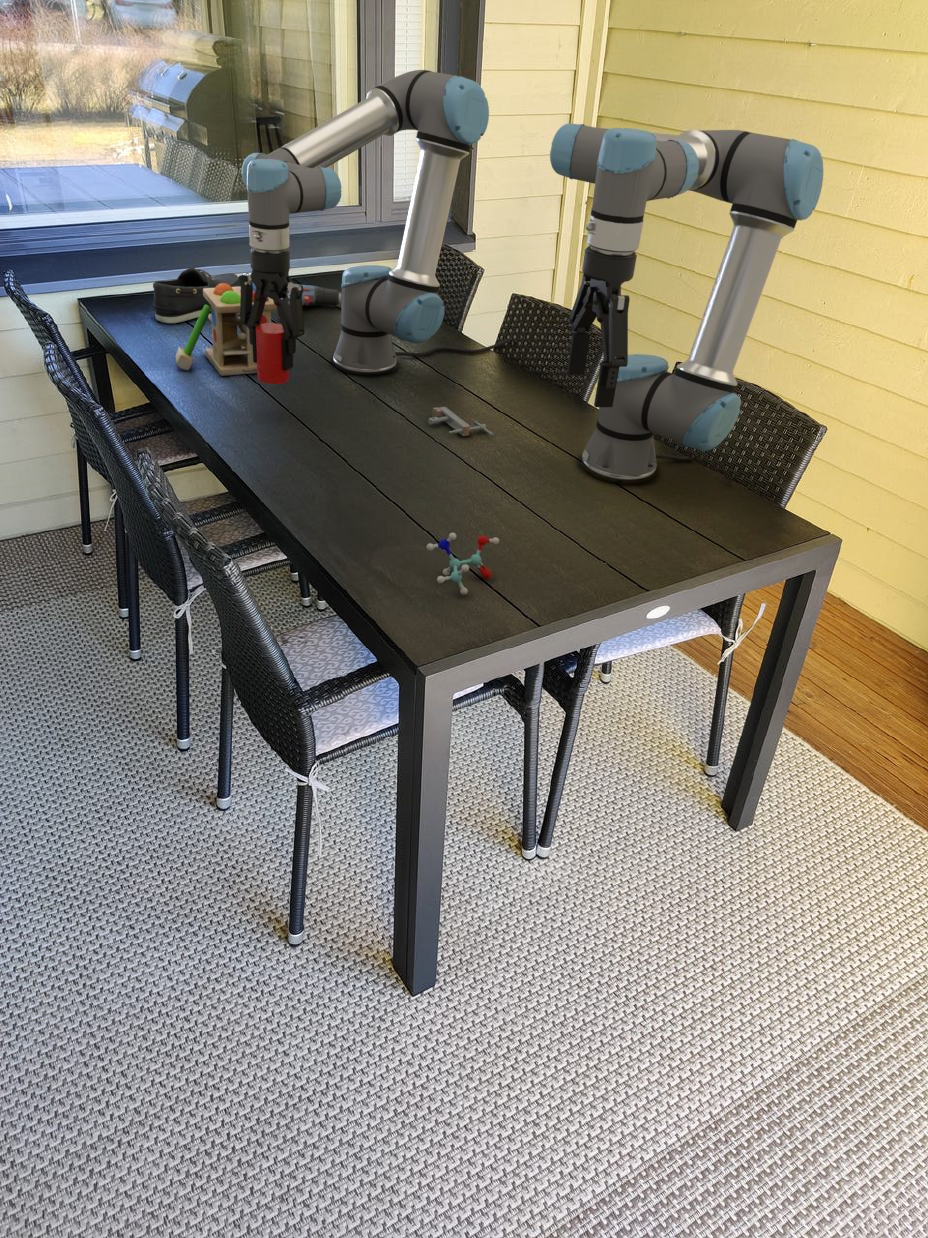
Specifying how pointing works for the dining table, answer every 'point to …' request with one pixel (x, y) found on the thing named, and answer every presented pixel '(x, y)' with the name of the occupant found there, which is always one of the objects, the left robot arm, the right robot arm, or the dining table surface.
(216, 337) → the pounding bench toy
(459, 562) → the molecular model
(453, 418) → the clamp
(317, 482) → the dining table surface
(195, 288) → the boat shoe
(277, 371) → the red cylinder
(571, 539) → the dining table surface
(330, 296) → the power drill
